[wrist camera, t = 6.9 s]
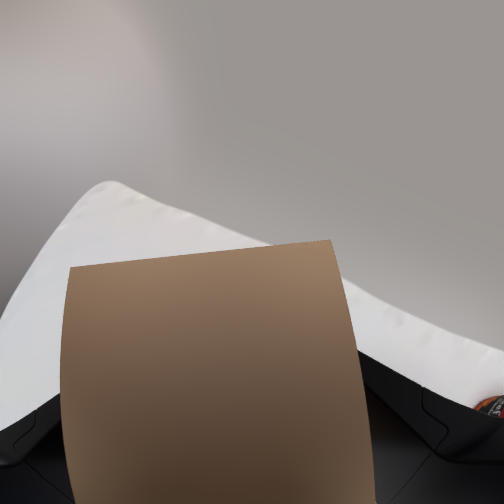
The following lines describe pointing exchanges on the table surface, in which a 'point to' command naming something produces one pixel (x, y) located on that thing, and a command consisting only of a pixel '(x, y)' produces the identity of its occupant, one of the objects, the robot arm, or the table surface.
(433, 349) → the table surface
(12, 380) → the table surface
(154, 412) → the walnut post
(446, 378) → the table surface
